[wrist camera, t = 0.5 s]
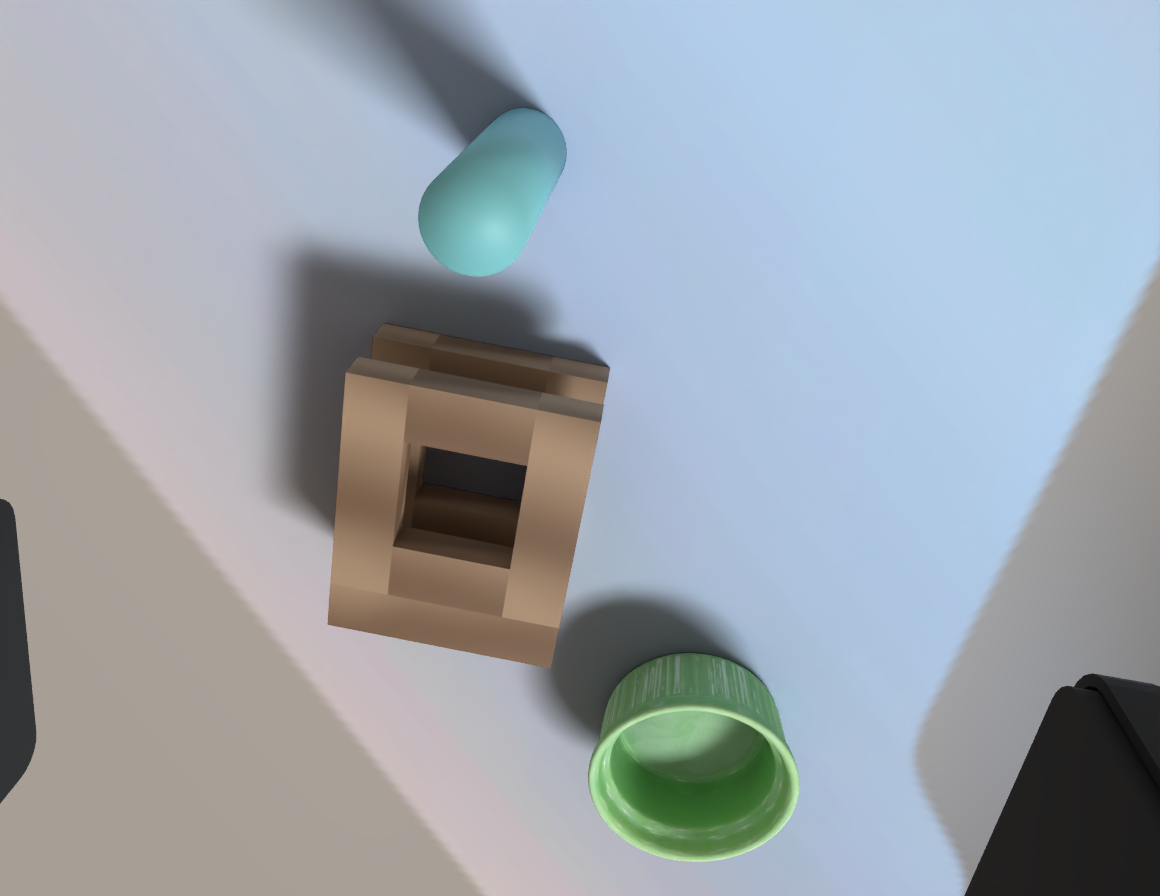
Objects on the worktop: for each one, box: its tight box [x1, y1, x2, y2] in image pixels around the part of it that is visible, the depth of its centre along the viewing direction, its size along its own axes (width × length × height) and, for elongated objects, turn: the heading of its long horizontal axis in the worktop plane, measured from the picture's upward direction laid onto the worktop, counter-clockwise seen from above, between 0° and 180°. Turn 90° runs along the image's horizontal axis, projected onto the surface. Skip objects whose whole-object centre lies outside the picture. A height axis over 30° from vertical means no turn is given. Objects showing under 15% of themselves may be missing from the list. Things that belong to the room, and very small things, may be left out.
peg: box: [418, 108, 566, 276], centre depth 32 cm, size 3×3×10 cm
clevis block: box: [328, 323, 610, 668], centre depth 40 cm, size 11×9×5 cm
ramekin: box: [588, 653, 799, 862], centre depth 45 cm, size 9×9×4 cm
